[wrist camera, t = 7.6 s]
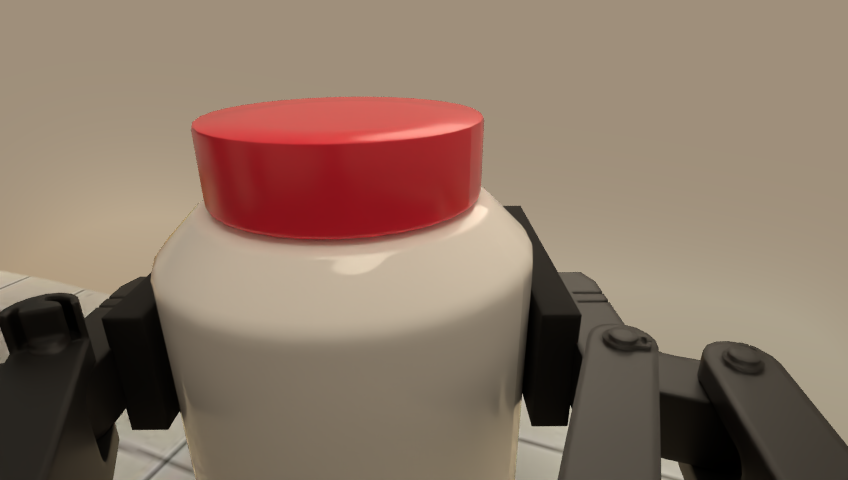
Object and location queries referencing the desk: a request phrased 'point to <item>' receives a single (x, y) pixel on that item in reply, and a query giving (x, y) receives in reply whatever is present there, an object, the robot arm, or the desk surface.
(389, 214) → the pill bottle
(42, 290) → the desk surface
